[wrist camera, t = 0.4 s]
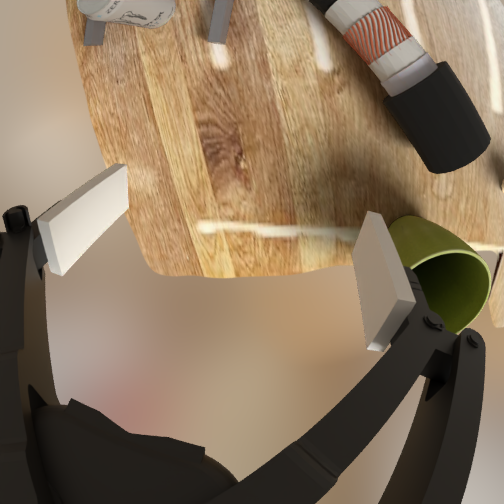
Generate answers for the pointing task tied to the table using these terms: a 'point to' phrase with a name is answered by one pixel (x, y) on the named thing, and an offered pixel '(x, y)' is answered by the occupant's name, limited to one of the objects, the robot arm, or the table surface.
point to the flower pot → (443, 269)
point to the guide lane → (216, 33)
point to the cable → (412, 85)
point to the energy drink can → (129, 11)
